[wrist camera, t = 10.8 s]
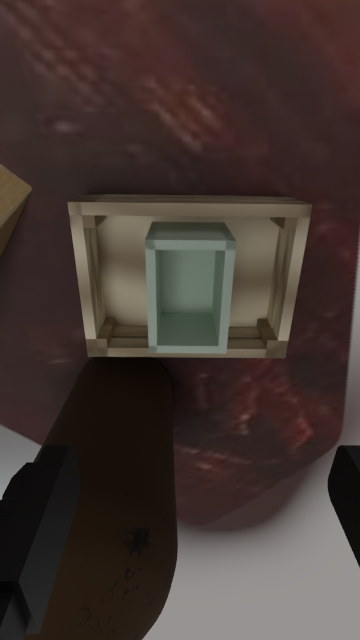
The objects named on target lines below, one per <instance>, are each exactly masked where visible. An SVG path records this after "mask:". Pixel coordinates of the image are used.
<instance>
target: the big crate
mask: <svg viewBox="0 0 360 640" xmlns="http://www.w3.org/2000/svg"><path fill="white" fill-rule="evenodd" d="M68 208H69V216H70V223H71V231H72V239H73V246H74V254H75V261H76V269H77V276H78V284H79V292H80V299H81V307H82V314H83V322H84V329H85V337H86V344H87V352H88V357H207V358H285V356H286V351H287V345H288V339H289V334H290V328H291V323H292V317H293V311H294V306H295V300H296V295H297V289H298V283H299V278H300V272H301V267H302V261H303V255H304V250H305V244H306V239H307V233H308V228H309V222H310V216H311V211H312V204H309V203H307V202H304V201H302V200H299V199H296V198H294V197H291V196H208V195H119V194H85V195H83V196H80V197H78V198H76V199H73V200H71V201H69V202H68ZM152 222H224V223H225V224H226V226H227V227H228V229H229V230H230V232H231V234H232V235H233V237H234V238H235V240H236V249H235V260H234V272H233V283H232V295H231V306H230V318H229V329H228V341H227V352H226V354H215V353H149V343H148V314H147V285H146V256H145V238H146V236H147V233H148V231H149V228H150V226H151V223H152Z"/></svg>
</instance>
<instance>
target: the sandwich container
mask: <svg viewBox="0 0 360 640" xmlns="http://www.w3.org/2000/svg"><path fill="white" fill-rule="evenodd" d="M31 191H32V188H31V187H30V186H29V185H28V184H27V183H25V182H24V181H23V180H21V179H20V178H19V177H17V176H16V175H15V174H13V173H12V172H10V171H9V170H8V169H6V168H5V167H4V166H2V165H1V164H0V257H1V255H2V253H3V251H4V249H5V246H6V244H7V242H8V240H9V238H10V236H11V234H12V232H13V229H14V227H15V225H16V223H17V221H18V219H19V217H20V215H21V212H22V210H23V208H24V206H25V204H26V202H27V200H28V198H29V195H30V193H31Z"/></svg>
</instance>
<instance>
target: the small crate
mask: <svg viewBox="0 0 360 640" xmlns="http://www.w3.org/2000/svg"><path fill="white" fill-rule="evenodd" d="M235 249H236V240H235V238H234V237H233V235H232V234H231V232H230V230H229V229H228V227H227V226H226V224H225V223H224V222H152V223H151V226H150V228H149V231H148V233H147V236H146V238H145V256H146V285H147V314H148V343H149V353H215V354H226V352H227V341H228V329H229V318H230V306H231V295H232V283H233V272H234V260H235Z"/></svg>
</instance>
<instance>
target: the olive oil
mask: <svg viewBox="0 0 360 640" xmlns="http://www.w3.org/2000/svg"><path fill="white" fill-rule="evenodd" d="M47 444H74V446H75V451H76V456H77V462H78V467H79V472H80V479H81V485H80V494H79V498H78V502H77V506H76V509H75V513H74V516H73V519H72V523H71V526H70V530H69V533H68V537H67V540H66V544H65V547H64V550H63V554H62V557H61V561H60V564H59V568H58V571H57V575H56V578H55V582H54V585H53V588H52V592H51V595H50V599H49V602H48V606H47V609H46V613H45V616H44V620H43V623H42V626H41V630H40V633H39V634H25V635H24V639H23V640H142V639H143V638H144V636H145V635H146V634H147V632H148V631H149V630H150V629H151V628H152V626H153V625H154V623H155V622H156V620H157V619H158V617H159V615H160V614H161V612H162V610H163V608H164V605H165V603H166V600H167V598H168V594H169V591H170V588H171V583H172V580H173V576H174V572H175V568H176V561H177V548H178V547H177V546H178V544H177V543H178V542H177V520H176V499H175V478H174V452H173V421H172V386H171V382H170V379H169V376H168V374H167V373H166V371H165V370H164V368H163V367H162V366H161V365H160V364H159V363H158V362H156V361H155V360H154V359H152V358H150V357H94V358H93V359H92V360H90V361H89V362H88V363H87V364H86V365H85V366H84V368H83V369H82V371H81V373H80V374H79V376H78V378H77V380H76V382H75V384H74V386H73V388H72V390H71V392H70V394H69V396H68V398H67V400H66V402H65V404H64V406H63V408H62V410H61V412H60V414H59V415H58V417H57V419H56V421H55V423H54V425H53V427H52V428H51V430H50V432H49V434H48V436H47V438H46V440H45V441H44V443H43V445H42V447H41V449H40V451H39V453H38V455H37V457H36V458H35V460H34V462H33V463H37V462H38V460H39V458H40V456H41V453H42V451H43V449H44V447H45V446H46V445H47Z"/></svg>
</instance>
